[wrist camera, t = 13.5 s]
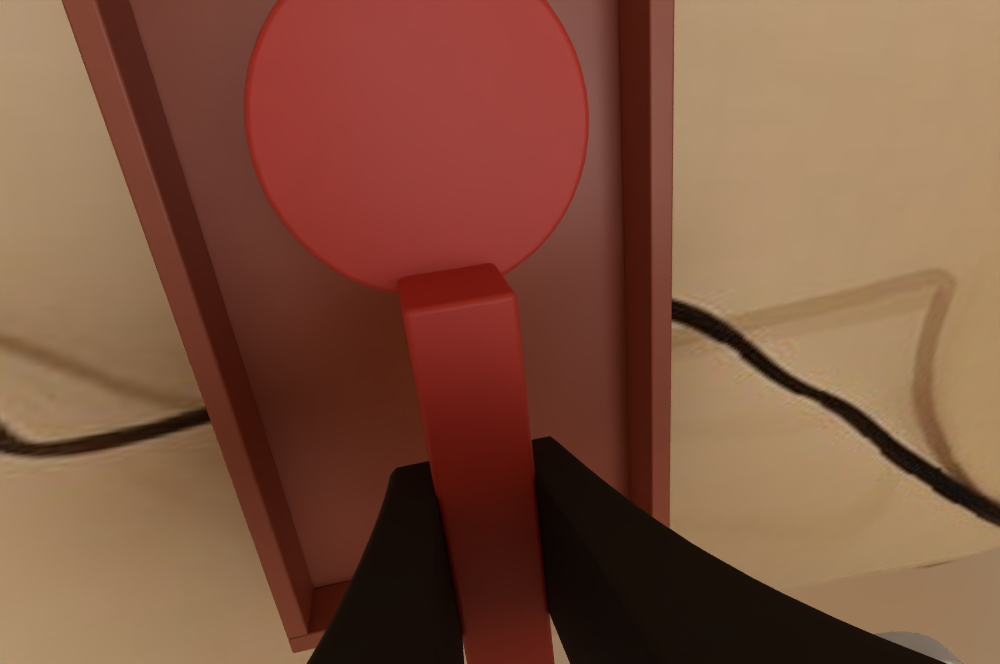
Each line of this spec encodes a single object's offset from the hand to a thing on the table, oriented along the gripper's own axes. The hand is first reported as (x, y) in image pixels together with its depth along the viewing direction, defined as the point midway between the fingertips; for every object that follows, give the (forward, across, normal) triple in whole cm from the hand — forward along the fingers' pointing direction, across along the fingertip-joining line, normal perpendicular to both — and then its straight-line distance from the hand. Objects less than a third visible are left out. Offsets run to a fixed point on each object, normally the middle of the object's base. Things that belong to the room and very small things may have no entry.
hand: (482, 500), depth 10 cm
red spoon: (+2, 0, -2) cm, 3 cm away
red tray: (+5, 0, -2) cm, 6 cm away
